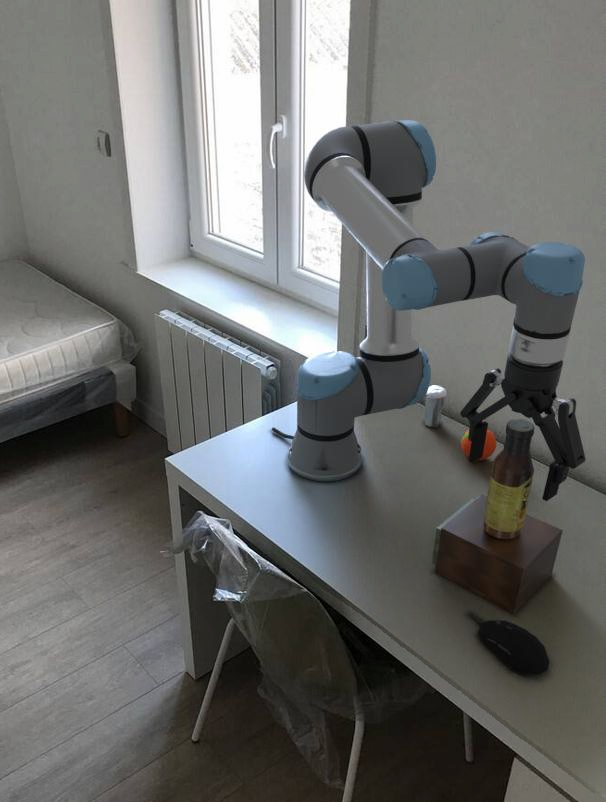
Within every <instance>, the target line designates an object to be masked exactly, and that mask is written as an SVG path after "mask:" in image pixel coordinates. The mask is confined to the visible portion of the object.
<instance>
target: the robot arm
mask: <svg viewBox="0 0 606 802" xmlns="http://www.w3.org/2000/svg"><path fill="white" fill-rule="evenodd" d="M436 154H437V153H436V148H435V144H434V141H433V138H432V136H431V135H430V133H429V132H428V129H427V128H426V127H425V126H424V125H423V124H422V123H420V122H419V121H417V120H412V119H408V120H407V119H406V120H405V119H404V120H402V119H401V120H396V119H394V120H388V121H381V122H374V123H367V124H359V125H353V126H349V125H347V126H339V127H338V128H334V129H332V130H329V131H328V132H326V133H325V134H323V135H322V136H321V137H319V138H318V139H317V141H316V142H315V143H314V144H313V146H312V147H311V148H310V151H309V152H308V155H307V157H306V159H305V163H304V168H303V179H304V185H305V188H306V190H307V193H308V195H309V196H310V198H311V199H312V201H313V202H314V203H315V204H316V205H317V207H319V208H320V209H322V210H323V211H326V212H330V213H332V214H333V215H334V217H336V219H337V220H338V221H339V222H340V223H341V224H342V225H343V227H344V228H345V229H346V230H347V231H348V232H349V233H350V235H351V236H352V237H353V238H354V239H355V240H356V241H357V243H359V245H360V246H361V247H362V248H363V249H364V250H365V264H366V268H365V269H366V271H365V272H366V273H365V274H366V330H367V331H366V338H364V340H363V341H361V342H360V343H359V356H358V357H355V356H354V355H353V354H351V353H349V352H346V351H341V350H339V351H335V350H328V351H322V352H319V353H316V354H313V355H312V356H310V357H308V358H307V359H305V360H304V361H303V362H302V364H301V365H300V367H299V369H298V371H297V378H296V379H297V381H296V386H295V390H296V430H295V433H294V435H291V434H286V433H284V432H282V431H280V430H279V429H277V428H276V427H274V426H273V427H272V428H271V431H272V432H273V433H275V434H276V435H279V436H281V438H284V439H289V440H292V442H291V445H290V446H289V448H288V454H287V457H288V458H287V462H288V466H289V468H290V470H292V472H293V473H295V474H296V475H298V476H300V477H301V478H304V479H306V480H310V481H314V482H323V483H324V482H326V483H327V482H329V483H330V482H338V481H341V480H345V479H348V478H350V477H351V476H354V474H356V473H357V472H358V471H359V470H360V468H361V465H362V452H363V450H362V447H361V446H360V444H359V442H358V438H357V435H356V432H355V420H356V418H357V417H358V418H359V417H363V416H367V415H372V414H377V413H382V412H383V413H384V412H387V411H393V410H402V409H405V408H406V407H408V406H413V405H416V404H418V403H420V402H421V400H423V399H425V395H426V393H427V391H428V389H429V387H430V386H431V379H432V369H431V364H429V361H430V359H429V356H428V354H427V353H426V351H425V350H424V349H423V348H422V347H420V343H419V341H418V340H417V339H416V338H414V336H413V334H412V327H413V326H412V325H413V324H412V320H413V316H412V315H413V310H416V311H418V310H419V311H420V310H423V309H427V308H432V307H436V306H442V305H446V304H453V303H457V302H463V301H464V302H465V301H469V300H475V299H480V298H486V297H492V296H500V297H501V298H503V299H505V300H506V301H508V303H511V304H513V305H515V313H514V319H513V325H512V330H511V336H510V342H509V348H508V351H509V353H508V354H507V357H506V362H505V366H504V367H505V368H504V372H503V373H504V374H502V369H500V368H498V367H495V368H493V369H492V370H490V371H488V372H486V373H485V374H484V377H483V380H482V384H481V386H480V387H479V388H478V389H477V390H476V391H475V393H474V394H473V396H472V397H471V398H470V399H469V400H468V402H467V403H466V404H465V406H464V407H463V408H462V409H461V410H460V412H459V414H460V415H459V416H460V417H462V418H464V419H465V418H466V419H467V421H468V422H469V429H468V431H469V434H468V439H469V441H472V442H471V448H470V454H469V457H468V460H467V461H468V463H471V464H473V463H475V462H477V461H479V460H478V459H480V458H482V457H483V451H484V445H485V440H486V434H487V429H488V428H489V422H487V421H484V420H486V419H488V418H489V417H491V416H493V415H494V414H496V413H497V412H499V411H501V410H502V409H504V408H505V407H507V406H508V407H509V408H510V410H511V411H512V412H514V413H517V414H521V415H522V416H524V417H526V418H528V419H532V422H533V424H534V426H535V427H536V426H537V427H538V429H539V430H540V432H541V435H542V437H543V439H544V441H545V443H546V446H547V448H548V450H549V452H550V453H551V455H552V458H553V460H554V461H552V462H551V463H550V464H549V469H548V473H547V477H546V481H545V485H544V488H543V489H544V490H543V494H542V500H543V501H545V502H548V501H550V500H551V499H552V498H554V497H555V496H556V495H558V493H559V492H558V491H559V488H560V485H561V484H562V483H563V482H565V481H566V480H567V478H568V475H569V471H570V469H572V470H574V469H576V468H578V467H580V465H582V464H584V463H585V462H586V455H585V450H584V446H583V441H582V438H581V433H580V429H579V425H578V421H577V417H576V411H577V401H576V399H575V398H572V397H571V398H568V399H564V398H561V397H558V395H557V388H558V385H559V382H560V378H561V374H562V370H563V366H564V361H563V360H564V359H565V357H566V353H567V348H568V342H569V338H570V333H571V329H572V325H573V320H574V317H575V312H576V307H577V303H578V299H579V295H580V291H581V289H582V286H583V284H584V283H583V282H584V281H583V278H584V277H583V276H584V271H585V270H584V269H585V264H586V257H585V254H584V252H583V250H581V249H580V248H578V247H577V246H574V245H572V244H565V243H563V242H557V241H545V242H538V243H535V244H533V245H531V246H530V247H529V246H528V245H527V244H525V243H522V242H521V241H519V240H518V239H516V238H514V237H513V236H510V235H508V234H503V233H500V232H497V231H489V232H484V233H482V234H481V235H480V236H478V237H477V238H475V239H473V240H472V241H471V242H470V243H469V245H465V246H458V247H452V248H445V249H437V247H436V246H435V245H434V244H433V243H432V242H431V241H429V240H428V239H427V238H426V237H425V236H424V235H423V234H422V233H421V231H419V229H417V228H416V227H415V226H414V210H415V208H416V207H417V206H418V205H419V204H420V203H421V202H422V200H423V189H424V188H426V187H427V186H429V185H430V184H431V183H432V182H433V180H434V176H435V175H436V171H437V155H436ZM498 386H500V387H501V391H502V393H503V395H504V396H503V397H502V398H500V399H499V400H497V401H495V402H494V403H492V404H491V405H490V406H488V407H486V408H484V409H483V410H481V411H480V412H478V409H479V408H480V407H481V405H482V404H483V403H484V402H485V401H486V400H487V398H488V397H489V396H490V395H491V393H493V391H494V389H496V387H498ZM553 407H554V408H553ZM554 409H555V410H554ZM542 414H544V416H542ZM556 416H557V420H556Z"/></svg>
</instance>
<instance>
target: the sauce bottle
mask: <svg viewBox="0 0 606 802" xmlns="http://www.w3.org/2000/svg"><path fill="white" fill-rule="evenodd" d="M505 425H506V426H505V440H504V443H503V449H501V450H500V451H499V452H498V453H497V454H496V456H495V458H494V459H493V464H492V470H491V472H490V478H489V482H488V483H489V484H488V490H487V495H486V496H487V501H486V508H485V514H484V529H485V531H486V532H487V533H488V534H489V535H491V536H493V537H495V538H498V539H513V538H515V537H517V536H518V535H519V534H520V532H521V529H522V527H523V525H524V520H525V515H526V514H527V509H528V505H529V499H530V494H531V490H532V485H533V479H534V474H535V468H534V463H533V459H532V455H531V443H532V438H533V436H534V434H535V427H536V425H535V423H534V422H531V421H529V420H526V419H523V418H513V419H510V420H509V421H507V422H506V424H505Z"/></svg>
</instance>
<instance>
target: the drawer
mask: <svg viewBox="0 0 606 802" xmlns="http://www.w3.org/2000/svg"><path fill="white" fill-rule="evenodd" d="M476 499H477V498H476V497H472V498H471V499H469V501H467V502H466V503H465V504H463V505H462V506H461V507H460V508H459V509H458V510H456V511H455V512H453V514H451V515H450V516H449V517H448V518H447V519H445V520H444V521H443V522H442V523H440V524H439V525H438V526H437V527H436V528H435V529H436V530H435V536H434V544H433V551H432V557H431V558H432V559H431V564H432V565H435V566H436V563H437V555H438V548H439V541H440V534H441V528H442V527H443V526H445V525H446V524H447V523H448V522H449V521H451V520H452V519H453V518H454V517H455V516H457V515H458V514H459V513H460V512H462V511H463V510H464V509H465V508H466V507H468V506H469V505H470V504H471V503H472V502H474V501H475V500H476Z"/></svg>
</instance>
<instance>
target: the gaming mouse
mask: <svg viewBox="0 0 606 802" xmlns="http://www.w3.org/2000/svg"><path fill="white" fill-rule="evenodd" d="M469 616H470V617H472V618H473V619H474V620H475V621H476V622H477V623H478V624H480V626H479V629H478V632H477V633H478V634H477V635H478V636H479V639H480V641H481V642H482V643H483V644H484V645H485V646H486V647H487V649H489V651H491V652H492V653H493V654H494V655H495V656H496V657H497V658H498V659H499V660H500V661H501V662H502V663H503V664H504V665H506V666H507V667H508V668H509V669H510V670H512V671H514V672H516V673H517V674H519V675H521V676H540V675H542V674H544V673H545V672H547V671H548V670H549V667H550V659H549V656H548V653H547V649H546V647H545V645H544V644H543V643H542V642H541V641H540V640H539V639H538V638H537V636H535V635H534V634H533V633H531V632H530V631H529V630H527V629H525V628H524V627H521V626H519V625H517V624H515V623H513V622H510V621H507V620H500V619H496V620H492V619H490V620H486V621H484V620H482V619H481V618H478V617H477V616H476V615H474V613H470V614H469Z"/></svg>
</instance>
